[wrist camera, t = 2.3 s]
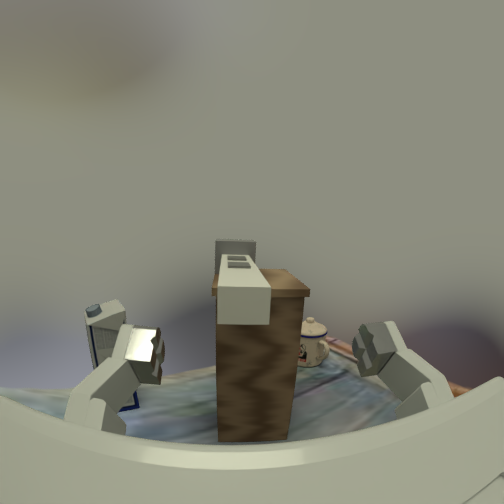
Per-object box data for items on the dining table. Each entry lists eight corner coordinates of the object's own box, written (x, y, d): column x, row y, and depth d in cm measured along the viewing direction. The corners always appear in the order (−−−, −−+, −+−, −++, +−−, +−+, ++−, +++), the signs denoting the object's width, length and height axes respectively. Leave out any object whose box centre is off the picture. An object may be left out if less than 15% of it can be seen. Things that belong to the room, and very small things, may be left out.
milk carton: (139, 408, 41) (125, 309, 39) (106, 414, 37) (85, 312, 35) (129, 389, 47) (117, 297, 45) (99, 394, 43) (82, 300, 41)
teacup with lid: (281, 357, 68) (284, 315, 67) (307, 349, 72) (312, 310, 71) (311, 376, 57) (317, 331, 56) (337, 366, 62) (344, 323, 61)
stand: (215, 443, 35) (211, 287, 32) (216, 393, 50) (216, 267, 47) (290, 440, 36) (310, 289, 33) (275, 392, 51) (285, 269, 48)
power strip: (204, 323, 20) (204, 259, 20) (216, 268, 46) (216, 238, 46) (281, 324, 21) (285, 261, 20) (251, 269, 47) (252, 240, 46)
